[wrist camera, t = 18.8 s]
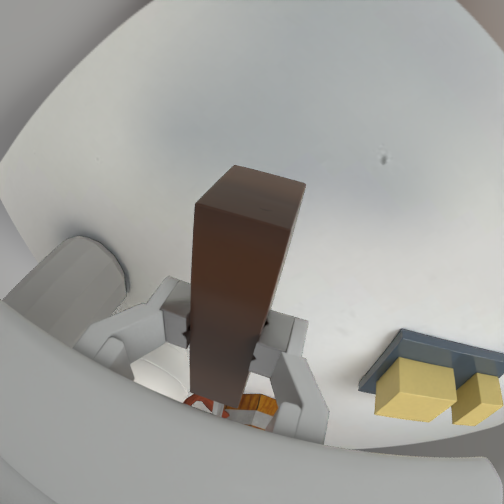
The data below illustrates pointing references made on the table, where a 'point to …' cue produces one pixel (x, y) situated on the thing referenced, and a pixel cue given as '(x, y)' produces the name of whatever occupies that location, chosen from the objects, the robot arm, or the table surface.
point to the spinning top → (164, 371)
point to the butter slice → (477, 400)
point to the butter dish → (435, 358)
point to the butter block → (415, 390)
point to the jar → (70, 289)
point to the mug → (244, 409)
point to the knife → (236, 275)
